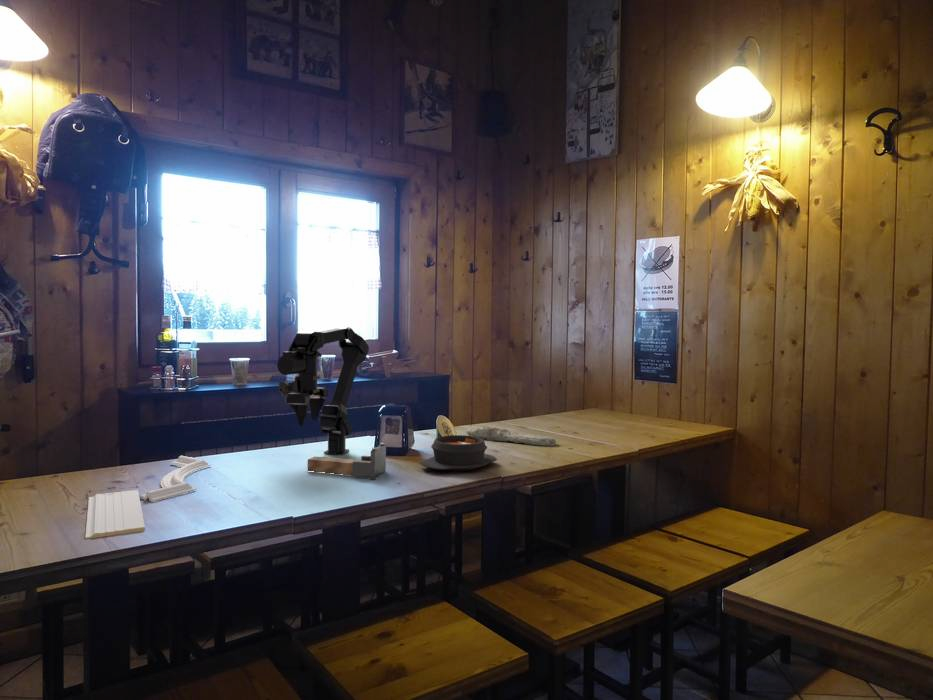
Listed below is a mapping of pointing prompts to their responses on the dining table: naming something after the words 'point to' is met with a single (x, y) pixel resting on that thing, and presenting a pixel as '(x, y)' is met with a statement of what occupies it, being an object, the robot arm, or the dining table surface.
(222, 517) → the dining table surface
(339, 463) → the brown wooden bar
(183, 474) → the molding
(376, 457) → the bracket
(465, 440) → the casserole
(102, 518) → the baseboard molding
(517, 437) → the long grey stone
